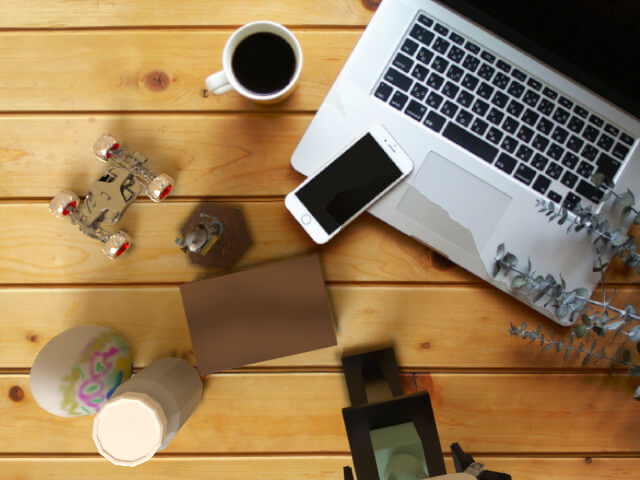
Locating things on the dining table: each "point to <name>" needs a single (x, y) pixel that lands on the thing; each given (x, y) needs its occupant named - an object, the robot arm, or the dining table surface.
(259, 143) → the dining table surface
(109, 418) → the jar
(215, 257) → the robot figurine
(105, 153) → the toy car
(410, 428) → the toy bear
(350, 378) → the plant stand
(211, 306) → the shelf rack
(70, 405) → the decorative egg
